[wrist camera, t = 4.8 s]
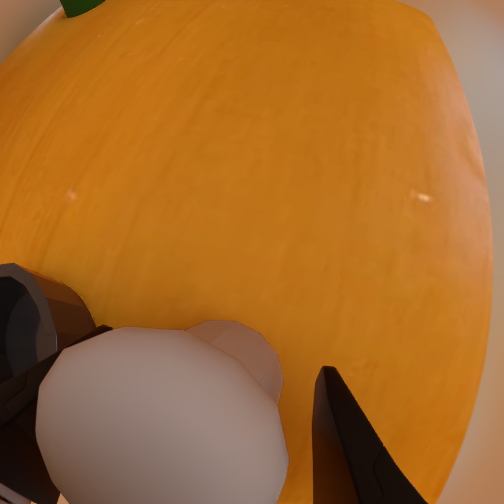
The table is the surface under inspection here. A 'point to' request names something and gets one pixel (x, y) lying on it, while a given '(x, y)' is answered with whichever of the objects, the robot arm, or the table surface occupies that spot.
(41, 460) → the robot arm
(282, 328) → the table surface
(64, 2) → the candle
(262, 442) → the salt shaker
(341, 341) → the table surface
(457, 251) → the table surface
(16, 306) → the holder
